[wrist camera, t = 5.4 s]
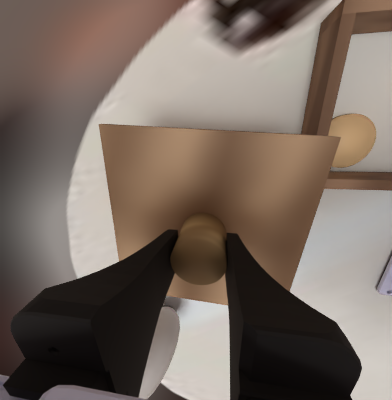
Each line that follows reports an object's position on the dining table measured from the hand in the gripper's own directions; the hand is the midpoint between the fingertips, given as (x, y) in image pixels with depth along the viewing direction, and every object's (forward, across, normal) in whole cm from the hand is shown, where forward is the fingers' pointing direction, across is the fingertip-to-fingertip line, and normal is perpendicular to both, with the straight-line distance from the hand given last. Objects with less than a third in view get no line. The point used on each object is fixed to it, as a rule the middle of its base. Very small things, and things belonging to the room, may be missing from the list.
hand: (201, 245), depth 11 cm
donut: (+10, +7, +19) cm, 22 cm away
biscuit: (+10, -12, -6) cm, 16 cm away
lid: (+2, 0, 0) cm, 2 cm away
